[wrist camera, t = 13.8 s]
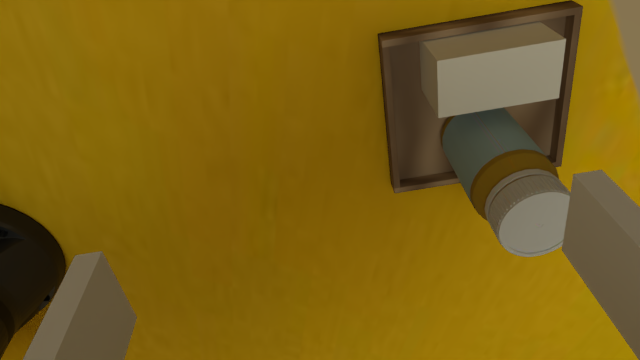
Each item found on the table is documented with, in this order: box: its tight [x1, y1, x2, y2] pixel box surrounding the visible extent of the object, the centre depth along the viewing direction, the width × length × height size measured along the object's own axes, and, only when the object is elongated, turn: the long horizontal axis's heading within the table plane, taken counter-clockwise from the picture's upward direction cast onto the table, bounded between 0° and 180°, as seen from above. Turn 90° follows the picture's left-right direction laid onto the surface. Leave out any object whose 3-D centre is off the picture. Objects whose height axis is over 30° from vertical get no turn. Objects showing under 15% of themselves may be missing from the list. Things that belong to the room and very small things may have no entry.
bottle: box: [441, 107, 571, 257], centre depth 43 cm, size 7×7×15 cm
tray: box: [378, 0, 583, 193], centre depth 47 cm, size 17×16×2 cm
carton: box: [419, 21, 566, 118], centre depth 43 cm, size 10×5×6 cm, turn 99°
